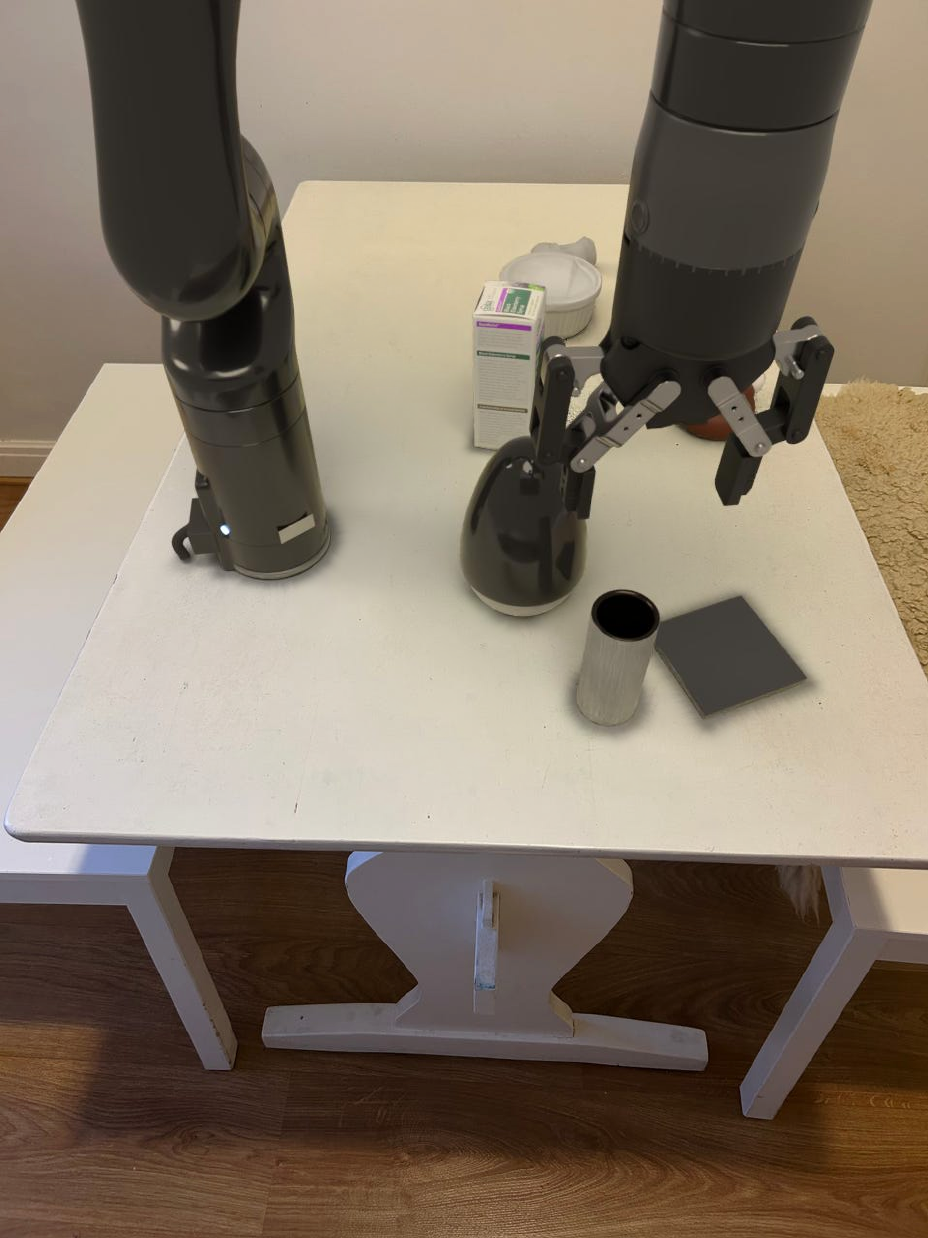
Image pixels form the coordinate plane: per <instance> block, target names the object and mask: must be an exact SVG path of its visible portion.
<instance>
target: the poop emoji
mask: <svg viewBox="0 0 928 1238" xmlns="http://www.w3.org/2000/svg"><path fill="white" fill-rule="evenodd" d="M765 382H766V373H765V372H764V373H763V374H762V375H761V376H760V377H759V378H758V379H757V380H756V381H755V382H754V383H753V384H752V385H751V386H749V387H748V388H747V389H746V390H745V391H744V392H743V394H744V396H745V397H746V399H747V401H748V402H749V404H750V405H751V407H752V409H753V410H754V412H755V413H756V401H755V396H756V395H755V394H757V393H759V392H760V391H761V390H762V389H763V387H764V385H765ZM681 425H682V426H683V427H684V428H685V429H686V430H687V431H689V432H690V433H692V434H694V436H695V435H696V436H698V437H701V438H703V439H707V440H715V441H717V440H719V441H721V440H726V439H727V436H728V433H729V432H734V431H733V430H732V428H731V427H730V425H729V424H728V422H727V421H726V419H725V418H724V416H723V415H722V413H720V414H719V415H717V416H715V417H713V418H711V419H708V423H707V424H705V425H693V426H692V425H685V424H681Z"/></svg>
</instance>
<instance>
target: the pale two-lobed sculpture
mask: <svg viewBox="0 0 928 1238" xmlns="http://www.w3.org/2000/svg"><path fill="white" fill-rule="evenodd" d="M538 252H558V253H564V254H569V255H573V256H576V257H579V258H581V259H583V260H586V261H587V262H589V263H590V264H592V265H593V266H594V267H595V265H596V263H597V259H598V256H597V255H598V254H597V248H596V245H595V242H594V240H593V239H591V238H589V237H587V236H582V237H581V238H580V239H578V240H577V241H575V242H572V243H566V244H559V243H556V242H548V241H547V242H545V241H544V242H539V243H537V244H535V245H534V246H533V247H532V248H531V250H530V252H529V254H531V253H538Z"/></svg>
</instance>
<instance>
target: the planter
mask: <svg viewBox="0 0 928 1238" xmlns="http://www.w3.org/2000/svg"><path fill="white" fill-rule="evenodd" d="M589 614H590V615H589V620H588V626H587V631H586V637H585V642H584V649H583V655H582V660H581V665H580V666H581V667H580V671H579V672H580V673H579V678H578V684H577V688H576V704H577V707H578V709H579V711H580V712H581V714H582V715H583V716H584V717H585V718H587V719H588V721H591V722H592V723H595V724H597V725H601V726H608V727H609V726H610V727H611V726H617V725H621V724H624V723H626V722H627V721H628V720H630V719H631V718H632V717H633V715H634V713H635V711H636V709H637V707H638V704H639V700H640V696H641V692H642V689H643V685H644V682H645V678H646V674H647V672H648V667H649V664H650V661H651V657H652V654H653V651H654V650H653V649H654V647H655V646H654V643H655V639H656V636H657V632H658V628H659V625H660V622H661V614H660V610H659V609H658V606H657V605H656V604H655V602H654V601H653V600H651V598H649V596H646V595H645V594H643V593H641V592H639V591H636V590H632V589H627V588H618V589H611V590H608V591H606V592H604V593H602V594H600V595H599V596H598V597H597V598H596V599H595V601H593V604H592V606H591V609H590V613H589Z"/></svg>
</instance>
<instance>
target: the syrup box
mask: <svg viewBox="0 0 928 1238" xmlns="http://www.w3.org/2000/svg"><path fill="white" fill-rule="evenodd" d="M546 293H547V289H546V287H545V286H540V285H535V284H529V283H522V282H510V281H499V280H494V281H493V280H491V281H490V280H485V281H484V285H483V287H482V290H481V292H480V294H479V296H478V298H477V301H476V304H475V306H474V309H473V311H472V314H471V326H472V329H471V331H472V334H471V335H472V399H473V400H472V401H473V403H472V404H473V406H472V407H473V446H475V447H477V448H481V449H488V450H493V451H497V450H498V449H499V448H500V447H501V446H502V445H504V444H505V443H506V442H508V441H510V440H511V439H514V438H517V437H520V436H531V435H530V432H529V425H530V418H531V411H532V403H533V396H534V389H535V382H536V375H537V368H538V361H539V353H540V347H541V344H542V342H543V341H544V330H545V310H546Z"/></svg>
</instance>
